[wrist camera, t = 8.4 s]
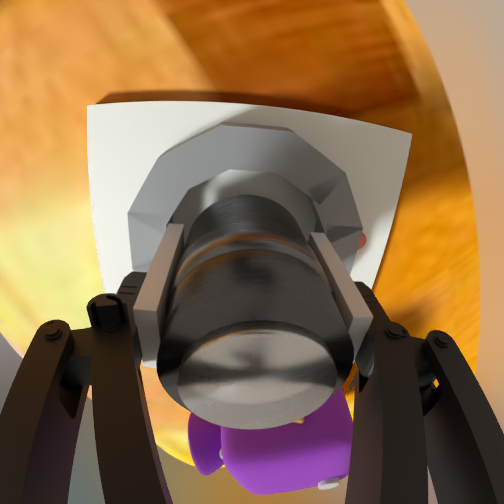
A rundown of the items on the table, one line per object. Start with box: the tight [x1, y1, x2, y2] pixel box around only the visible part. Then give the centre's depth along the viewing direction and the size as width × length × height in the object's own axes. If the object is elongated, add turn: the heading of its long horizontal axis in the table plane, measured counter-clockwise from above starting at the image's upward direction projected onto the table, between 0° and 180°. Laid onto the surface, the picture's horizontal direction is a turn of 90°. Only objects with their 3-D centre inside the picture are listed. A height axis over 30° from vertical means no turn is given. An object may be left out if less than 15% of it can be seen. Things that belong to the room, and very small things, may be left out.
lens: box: [156, 195, 354, 429], centre depth 12 cm, size 6×6×9 cm
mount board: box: [87, 101, 412, 294], centre depth 17 cm, size 14×18×3 cm
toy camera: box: [188, 386, 353, 494], centre depth 22 cm, size 11×14×10 cm
